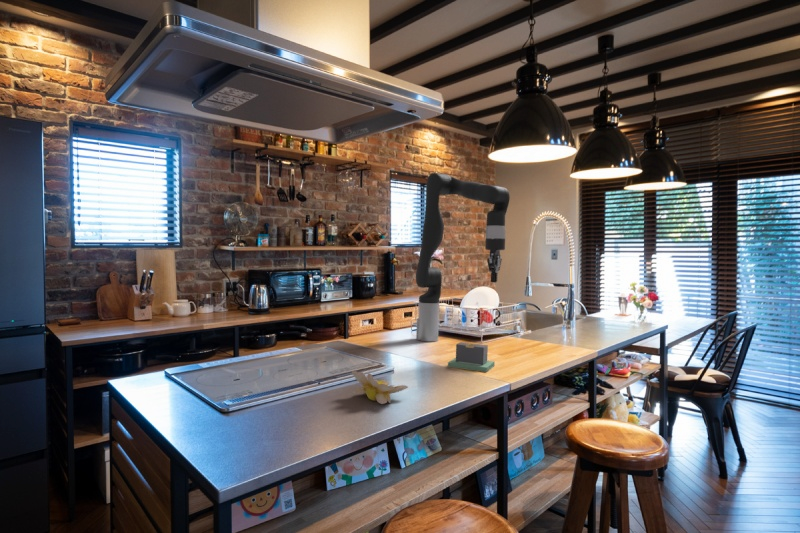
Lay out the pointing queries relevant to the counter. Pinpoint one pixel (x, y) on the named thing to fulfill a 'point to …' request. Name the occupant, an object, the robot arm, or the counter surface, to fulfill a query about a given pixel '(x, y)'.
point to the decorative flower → (376, 387)
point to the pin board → (471, 365)
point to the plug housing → (471, 353)
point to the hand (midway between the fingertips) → (494, 282)
